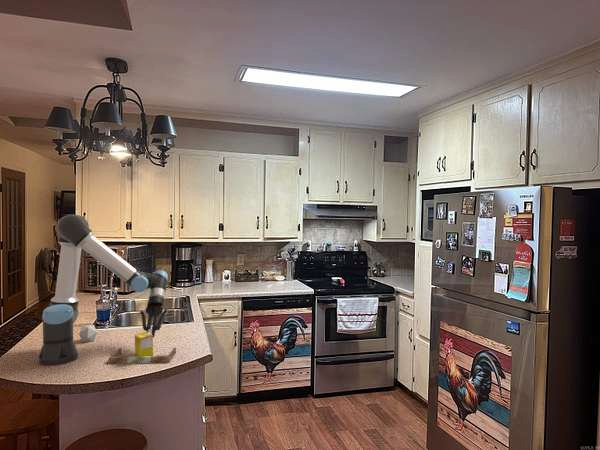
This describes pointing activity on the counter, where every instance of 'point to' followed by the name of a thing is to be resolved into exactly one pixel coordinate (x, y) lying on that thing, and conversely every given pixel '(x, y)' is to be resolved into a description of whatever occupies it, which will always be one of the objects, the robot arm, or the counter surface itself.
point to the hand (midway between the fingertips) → (148, 343)
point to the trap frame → (140, 358)
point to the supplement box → (143, 344)
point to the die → (88, 333)
